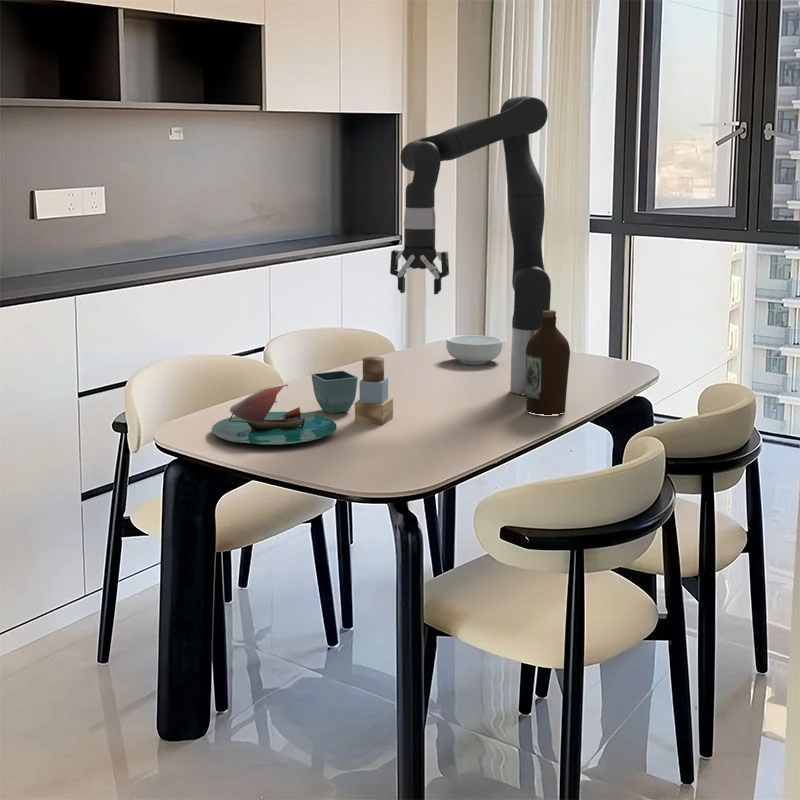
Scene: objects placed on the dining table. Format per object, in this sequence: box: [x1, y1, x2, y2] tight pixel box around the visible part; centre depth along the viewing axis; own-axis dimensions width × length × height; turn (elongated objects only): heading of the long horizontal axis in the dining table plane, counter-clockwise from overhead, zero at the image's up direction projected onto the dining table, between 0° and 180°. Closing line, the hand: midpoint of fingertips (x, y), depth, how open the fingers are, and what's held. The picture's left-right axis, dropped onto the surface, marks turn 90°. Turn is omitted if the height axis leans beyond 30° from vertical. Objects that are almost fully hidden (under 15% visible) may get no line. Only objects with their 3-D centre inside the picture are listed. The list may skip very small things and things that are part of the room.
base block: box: [354, 397, 394, 426], centre depth 260 cm, size 7×7×5 cm
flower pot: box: [311, 370, 359, 415], centre depth 268 cm, size 9×9×9 cm
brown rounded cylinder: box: [362, 356, 385, 382], centre depth 258 cm, size 5×5×5 cm
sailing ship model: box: [211, 384, 338, 445], centre depth 247 cm, size 28×28×11 cm
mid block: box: [359, 377, 389, 404], centre depth 259 cm, size 6×6×5 cm
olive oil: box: [525, 309, 571, 415], centre depth 266 cm, size 11×11×25 cm
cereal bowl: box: [445, 334, 503, 366], centre depth 328 cm, size 17×17×7 cm
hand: (419, 293), depth 269 cm, fingers open, 8 cm apart
